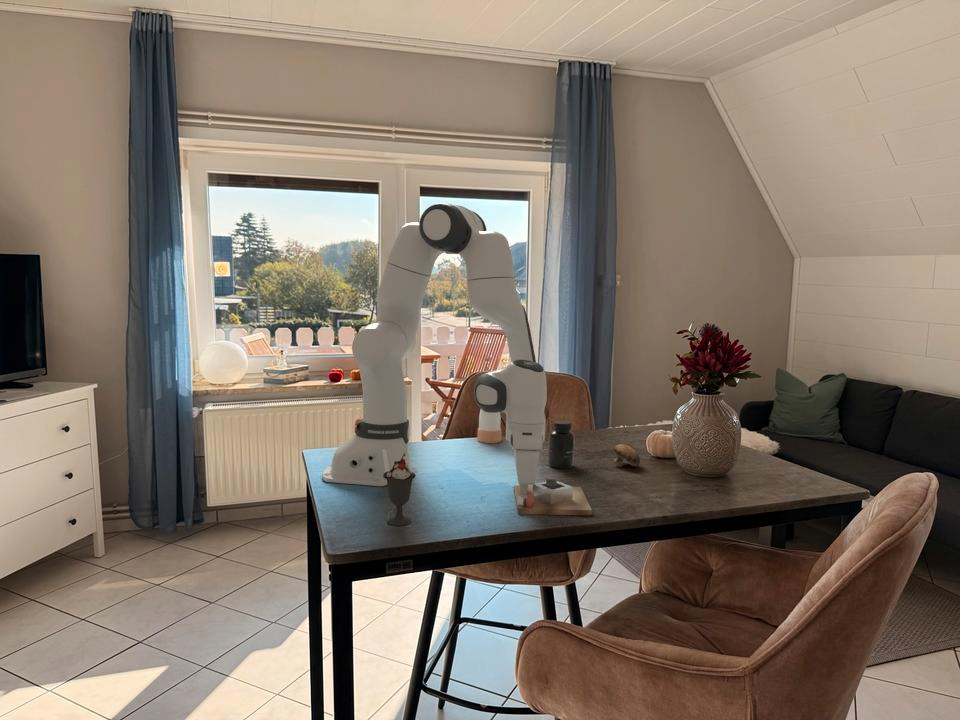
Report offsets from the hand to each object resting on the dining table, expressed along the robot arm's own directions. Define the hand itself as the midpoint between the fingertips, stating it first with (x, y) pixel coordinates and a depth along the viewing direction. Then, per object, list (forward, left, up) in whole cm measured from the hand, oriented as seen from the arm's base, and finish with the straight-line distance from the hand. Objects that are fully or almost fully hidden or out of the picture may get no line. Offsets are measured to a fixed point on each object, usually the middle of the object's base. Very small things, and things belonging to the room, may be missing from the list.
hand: (523, 491), depth 159 cm
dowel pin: (+1, -7, -1) cm, 7 cm away
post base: (+6, 0, -2) cm, 7 cm away
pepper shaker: (-6, +56, -2) cm, 56 cm away
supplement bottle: (+12, +30, -2) cm, 32 cm away
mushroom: (+30, +31, -3) cm, 43 cm away
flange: (+4, -3, -1) cm, 5 cm away
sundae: (-27, -14, -2) cm, 30 cm away
